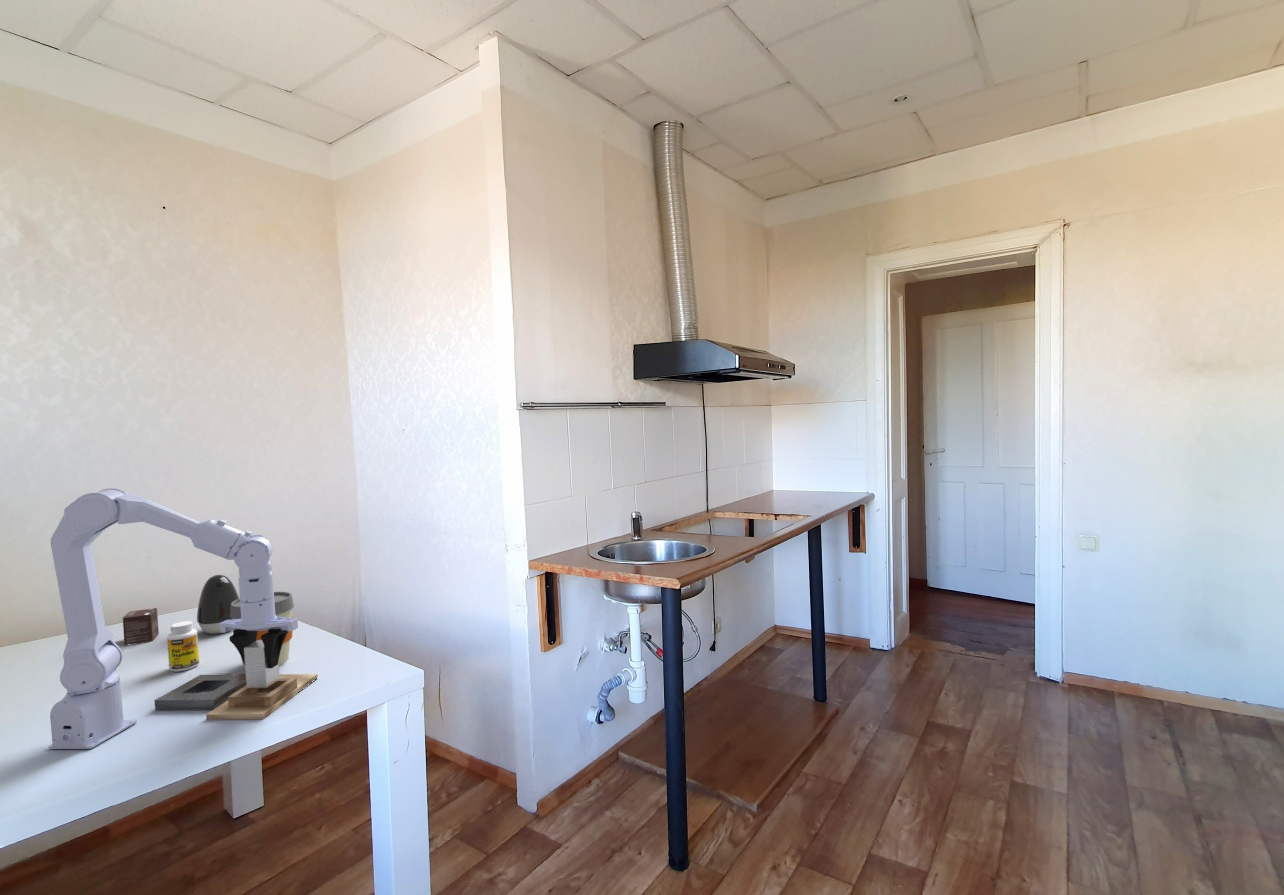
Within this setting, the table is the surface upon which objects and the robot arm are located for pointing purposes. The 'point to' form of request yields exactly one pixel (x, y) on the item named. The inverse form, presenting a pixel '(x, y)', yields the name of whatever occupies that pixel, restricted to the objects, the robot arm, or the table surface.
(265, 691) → the rack board
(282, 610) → the reusable coffee cup
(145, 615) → the box
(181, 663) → the supplement bottle
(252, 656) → the brushed metal block
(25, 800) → the table surface
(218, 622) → the dark grey tall dome
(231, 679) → the socket
